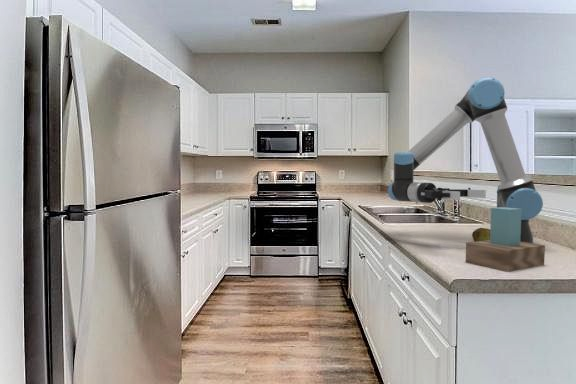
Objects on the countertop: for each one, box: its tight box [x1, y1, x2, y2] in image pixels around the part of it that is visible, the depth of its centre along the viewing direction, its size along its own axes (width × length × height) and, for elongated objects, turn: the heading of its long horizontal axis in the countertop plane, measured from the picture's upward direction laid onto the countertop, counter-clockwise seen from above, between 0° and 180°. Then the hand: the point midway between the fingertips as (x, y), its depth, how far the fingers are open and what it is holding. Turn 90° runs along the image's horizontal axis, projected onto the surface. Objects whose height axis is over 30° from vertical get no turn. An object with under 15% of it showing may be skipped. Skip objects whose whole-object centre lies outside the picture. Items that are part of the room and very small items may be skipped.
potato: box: [471, 227, 490, 242], centre depth 153 cm, size 8×13×8 cm, turn 51°
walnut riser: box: [465, 240, 546, 272], centre depth 133 cm, size 18×14×6 cm
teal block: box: [489, 207, 522, 246], centre depth 132 cm, size 6×6×11 cm
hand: (472, 194), depth 145 cm, fingers open, 13 cm apart
